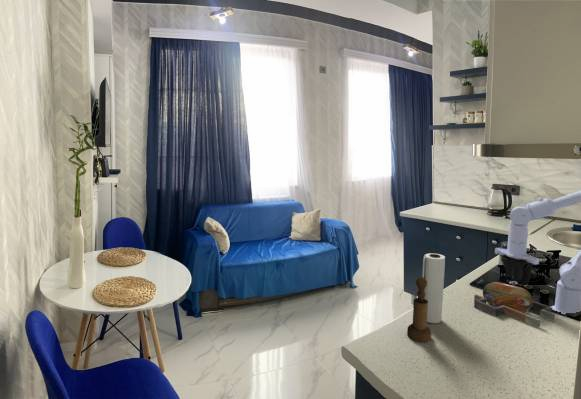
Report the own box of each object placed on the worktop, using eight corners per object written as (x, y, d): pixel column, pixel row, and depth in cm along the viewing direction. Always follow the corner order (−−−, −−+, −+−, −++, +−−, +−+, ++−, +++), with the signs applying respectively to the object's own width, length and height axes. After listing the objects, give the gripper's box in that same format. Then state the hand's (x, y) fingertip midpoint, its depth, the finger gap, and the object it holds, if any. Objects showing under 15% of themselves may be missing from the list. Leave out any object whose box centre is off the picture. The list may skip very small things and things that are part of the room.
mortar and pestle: (434, 336, 112) (437, 277, 109) (425, 344, 107) (428, 284, 105) (413, 328, 117) (415, 272, 114) (403, 336, 112) (405, 278, 109)
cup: (534, 288, 147) (537, 258, 145) (513, 287, 148) (515, 257, 146) (526, 281, 154) (529, 252, 152) (506, 279, 156) (508, 251, 154)
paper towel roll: (438, 315, 125) (442, 252, 122) (443, 324, 119) (447, 258, 116) (415, 314, 126) (418, 252, 122) (420, 323, 120) (423, 258, 116)
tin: (481, 303, 134) (483, 280, 133) (484, 300, 137) (486, 278, 135) (530, 317, 124) (532, 292, 122) (532, 313, 126) (535, 289, 125)
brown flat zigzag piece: (497, 294, 142) (497, 288, 141) (561, 318, 122) (562, 311, 122) (466, 303, 134) (467, 297, 133) (530, 331, 114) (531, 323, 114)
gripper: (490, 237, 137) (487, 273, 139) (532, 247, 124) (528, 287, 127) (502, 235, 140) (499, 270, 142) (544, 244, 128) (540, 283, 130)
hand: (514, 278), depth 135 cm, fingers open, 3 cm apart
